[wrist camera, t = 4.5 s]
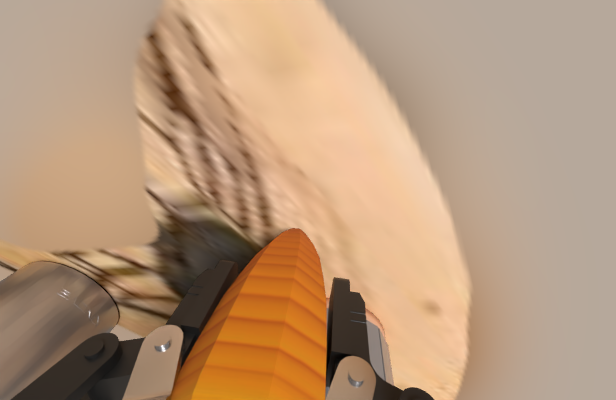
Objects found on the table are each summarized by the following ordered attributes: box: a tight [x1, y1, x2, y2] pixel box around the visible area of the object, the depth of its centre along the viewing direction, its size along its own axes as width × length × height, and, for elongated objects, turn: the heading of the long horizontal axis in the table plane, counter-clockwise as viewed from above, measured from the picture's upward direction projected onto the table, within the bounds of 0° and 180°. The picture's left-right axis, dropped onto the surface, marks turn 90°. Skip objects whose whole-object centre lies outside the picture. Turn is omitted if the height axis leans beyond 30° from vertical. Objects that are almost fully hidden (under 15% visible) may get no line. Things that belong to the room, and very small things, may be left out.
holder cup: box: [325, 298, 394, 400], centre depth 20 cm, size 9×9×5 cm
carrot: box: [171, 228, 327, 400], centre depth 10 cm, size 5×5×15 cm
